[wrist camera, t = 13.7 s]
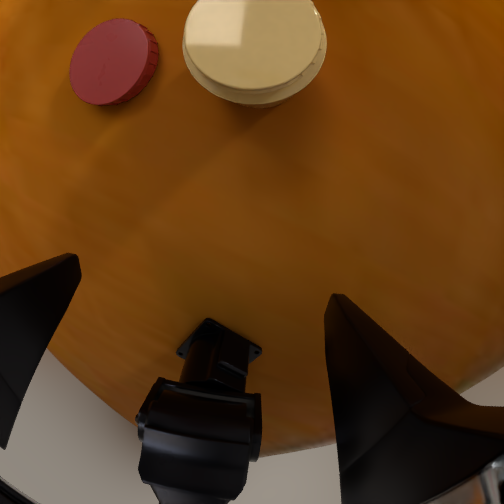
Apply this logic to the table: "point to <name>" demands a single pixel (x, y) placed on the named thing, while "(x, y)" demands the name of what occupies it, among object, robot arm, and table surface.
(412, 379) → the robot arm
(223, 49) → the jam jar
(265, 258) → the table surface
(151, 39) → the lid
